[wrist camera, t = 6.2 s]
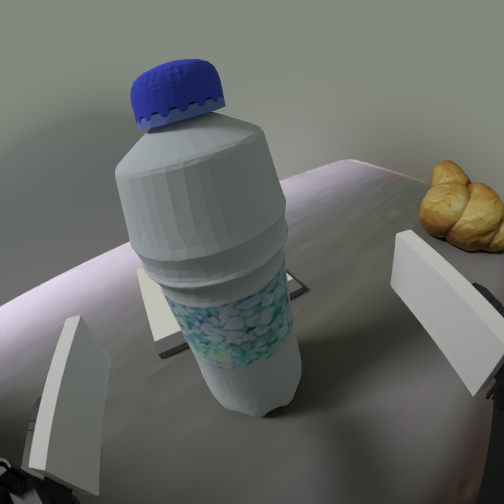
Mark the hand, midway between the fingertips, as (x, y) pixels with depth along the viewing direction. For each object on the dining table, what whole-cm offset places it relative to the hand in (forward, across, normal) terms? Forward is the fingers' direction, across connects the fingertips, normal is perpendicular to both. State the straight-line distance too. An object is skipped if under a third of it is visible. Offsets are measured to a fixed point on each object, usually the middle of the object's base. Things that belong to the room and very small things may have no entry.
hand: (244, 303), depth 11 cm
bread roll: (+12, +27, -11) cm, 31 cm away
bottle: (+3, -1, -11) cm, 12 cm away
